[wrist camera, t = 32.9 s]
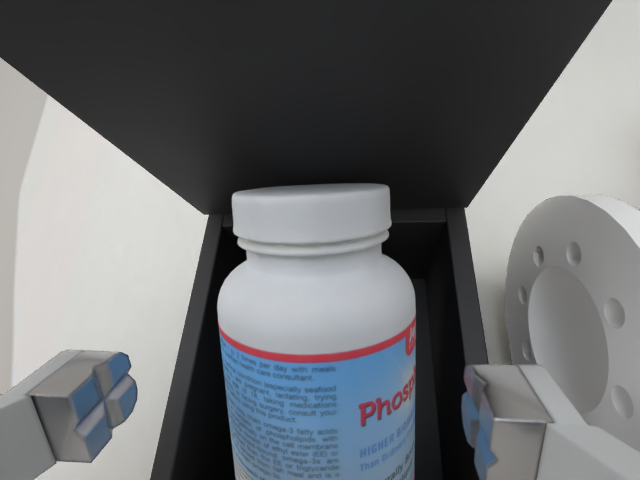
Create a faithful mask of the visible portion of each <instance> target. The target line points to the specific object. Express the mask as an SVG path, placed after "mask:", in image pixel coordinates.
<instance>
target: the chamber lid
mask: <svg viewBox="0 0 640 480" xmlns="http://www.w3.org/2000/svg"><path fill="white" fill-rule="evenodd" d="M611 2H612V0H0V57H1V58H2V59H3V60H4V61H6V62H7V63H8V64H10V65H11V66H12V67H13V68H15V69H16V70H17V71H19V72H20V73H21V74H23V75H24V76H25V77H26V78H28V79H29V80H30V81H32V82H33V83H34V84H36V85H37V86H38V87H39V88H41V89H42V90H44V91H45V92H46V93H47V94H48V95H50V96H51V97H52V98H54V99H55V100H56V101H58V102H59V103H60V104H61V105H63V106H64V107H65V108H67V109H68V110H69V111H70V112H72V113H73V114H74V115H76V116H77V117H78V118H80V119H81V120H82V121H83V122H85V123H86V124H87V125H89V126H90V127H91V128H92V129H94V130H95V131H96V132H98V133H99V134H100V135H102V136H103V137H104V138H105V139H107V140H108V141H109V142H111V143H112V144H113V145H115V146H116V147H117V148H118V149H120V150H121V151H122V152H124V153H125V154H126V155H127V156H129V157H130V158H131V159H133V160H134V161H135V162H137V163H138V164H139V165H140V166H142V167H143V168H144V169H146V170H147V171H148V172H149V173H151V174H152V175H153V176H155V177H156V178H157V179H159V180H160V181H161V182H162V183H164V184H165V185H166V186H168V187H169V188H170V189H171V190H173V191H174V192H175V193H177V194H178V195H179V196H181V197H182V198H183V199H184V200H186V201H187V202H188V203H190V204H191V205H192V206H194V207H195V208H196V209H197V210H199V211H200V212H201V213H203V214H204V215H206V214H233V212H232V195H233V194H234V193H235V192H238V191H243V190H250V189H257V188H267V187H279V186H293V185H312V184H340V183H374V184H384V185H387V186H388V187H389V189H390V210H392V209H429V208H467V207H468V206H469V204H470V203H471V201H472V200H473V199H474V197H475V196H476V194H477V193H478V191H479V190H480V189H481V187H482V186H483V184H484V183H485V181H486V180H487V179H488V177H489V176H490V174H491V173H492V171H493V170H494V169H495V167H496V166H497V164H498V163H499V162H500V160H501V159H502V157H503V156H504V154H505V153H506V152H507V150H508V149H509V147H510V146H511V144H512V143H513V142H514V140H515V139H516V137H517V136H518V134H519V133H520V132H521V130H522V129H523V127H524V126H525V124H526V123H527V122H528V120H529V119H530V117H531V116H532V114H533V113H534V112H535V110H536V109H537V107H538V106H539V104H540V103H541V102H542V100H543V99H544V97H545V96H546V94H547V93H548V92H549V90H550V89H551V87H552V86H553V84H554V83H555V82H556V80H557V79H558V77H559V76H560V74H561V73H562V72H563V70H564V69H565V67H566V66H567V64H568V63H569V62H570V60H571V59H572V57H573V56H574V54H575V53H576V52H577V50H578V49H579V47H580V46H581V44H582V43H583V42H584V40H585V39H586V37H587V36H588V34H589V33H590V32H591V30H592V29H593V27H594V26H595V24H596V23H597V22H598V20H599V19H600V17H601V16H602V14H603V13H604V12H605V10H606V9H607V7H608V6H609V4H610V3H611Z"/></svg>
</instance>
